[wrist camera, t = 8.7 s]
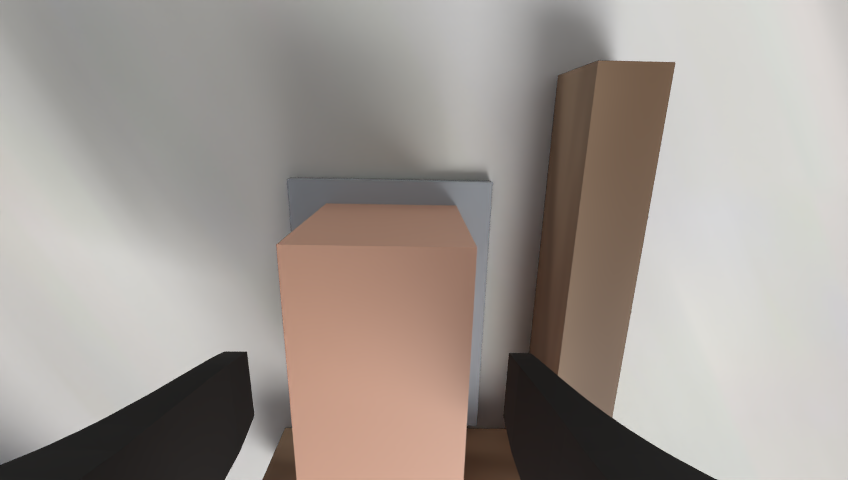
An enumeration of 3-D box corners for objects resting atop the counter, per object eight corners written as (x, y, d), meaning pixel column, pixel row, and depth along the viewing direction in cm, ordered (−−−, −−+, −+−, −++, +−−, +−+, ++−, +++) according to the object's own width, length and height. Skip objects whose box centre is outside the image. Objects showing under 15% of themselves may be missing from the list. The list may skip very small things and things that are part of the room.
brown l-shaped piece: (288, 466, 17) (262, 534, 14) (251, 68, 13) (203, 51, 10) (562, 466, 17) (591, 533, 14) (618, 76, 13) (675, 62, 10)
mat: (308, 418, 16) (305, 425, 16) (290, 177, 14) (286, 179, 13) (475, 418, 17) (476, 425, 16) (490, 181, 14) (492, 182, 13)
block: (326, 203, 14) (276, 244, 9) (456, 205, 14) (477, 247, 9) (335, 400, 16) (299, 519, 11) (448, 401, 16) (460, 519, 11)
